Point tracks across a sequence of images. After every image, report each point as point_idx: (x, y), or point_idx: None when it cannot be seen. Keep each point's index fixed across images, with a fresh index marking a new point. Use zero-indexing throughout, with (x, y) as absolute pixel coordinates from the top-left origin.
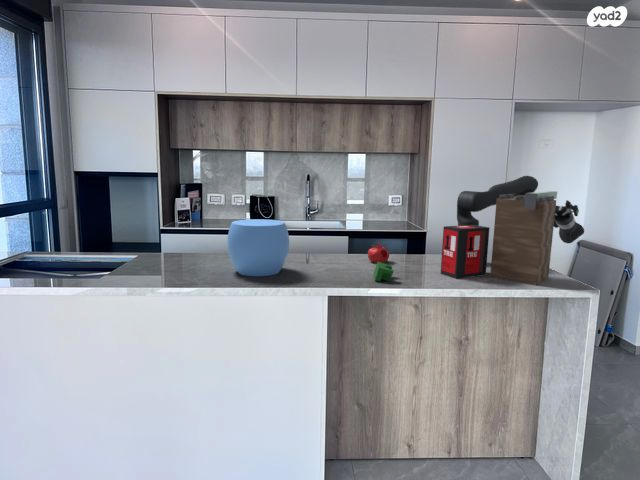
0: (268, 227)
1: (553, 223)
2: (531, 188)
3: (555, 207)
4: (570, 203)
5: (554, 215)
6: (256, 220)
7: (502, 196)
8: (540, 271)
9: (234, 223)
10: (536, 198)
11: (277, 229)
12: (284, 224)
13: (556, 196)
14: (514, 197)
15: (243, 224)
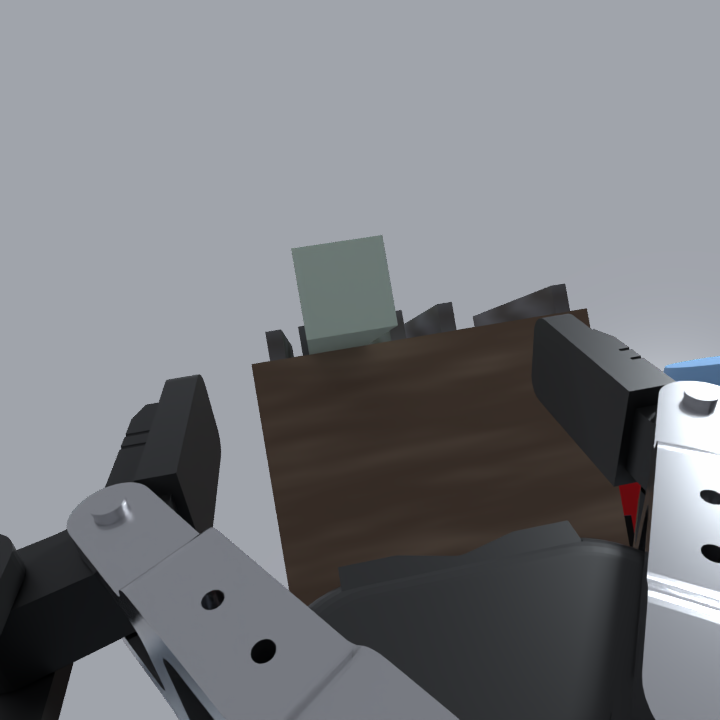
0: (666, 370)
1: (282, 540)
2: None
3: (261, 419)
4: (130, 447)
5: (271, 480)
6: None
7: (478, 321)
8: None
9: (704, 358)
10: (302, 349)
11: (675, 375)
12: (705, 367)
13: (302, 313)
14: (554, 312)
15: (689, 361)
